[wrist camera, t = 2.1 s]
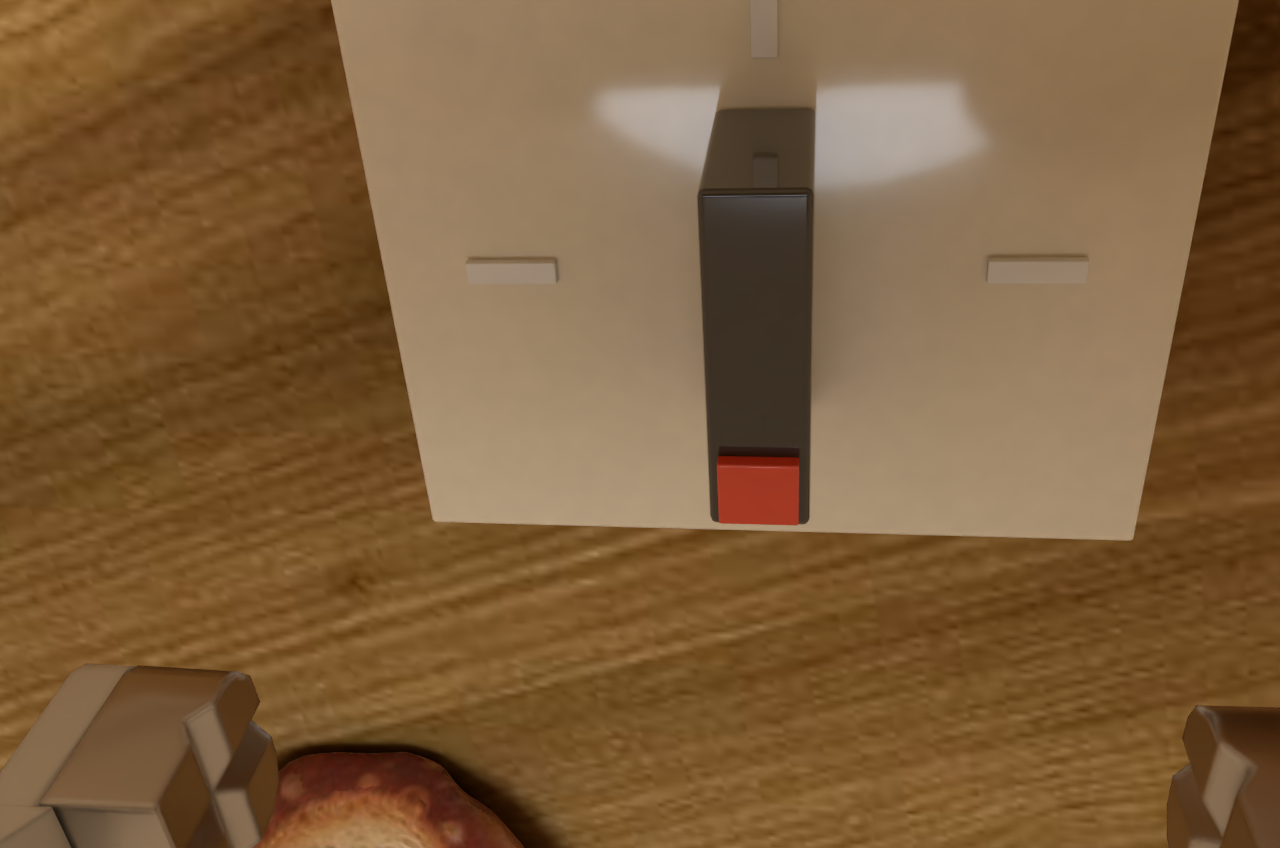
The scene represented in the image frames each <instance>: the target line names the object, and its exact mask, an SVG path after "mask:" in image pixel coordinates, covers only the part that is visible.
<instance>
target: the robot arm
mask: <svg viewBox="0 0 1280 848" xmlns="http://www.w3.org/2000/svg"><path fill="white" fill-rule="evenodd" d="M259 703H260V700H259V698H258V695H257V692H256V690H255V687H254V684H253V682H252V679H251V677H250V675H247V674H243V673H240V672H234V671H218V670H202V669H186V668H170V667H154V666H121V665H105V664H89V663H87V664H85V665H83V666H82V667H80V668H78V669H77V670H75V671H73V672H72V673H71V674H70V675H69V676H68V677H67V679H66V680H65V681H64V683H63V684H62V686H61V687H60V688H59V690H58V691H57V693H56V694H55V696H54V697H53V698H52V700H51V701H50V703H49V704H48V705H47V707H46V708H45V710H44V711H43V712H42V714H41V715H40V717H39V718H38V720H37V721H36V722H35V724H34V725H33V727H32V728H31V729H30V731H29V732H28V734H27V735H26V736H25V738H24V739H23V741H22V742H21V743H20V745H19V746H18V748H17V749H16V751H15V752H14V753H13V755H12V756H11V758H10V759H9V760H8V762H7V763H6V765H5V766H4V767H3V769H2V770H1V772H0V848H252V847H254V846H255V845H256V844H257V843H259V842H260V841H261V840H262V838H263V836H264V834H265V831H266V829H267V826H268V824H269V822H270V819H271V817H272V815H273V812H274V806H275V800H276V795H277V789H278V783H279V773H278V759H277V754H276V750H275V747H274V744H273V740H272V737H271V736H270V735H269V734H267V733H266V732H265V731H264V730H263V729H262V728H260V727H259V726H258V725H257V724H256V723H254V722H253V721H252V720H251V719H252V717H253V715H254V713H255V711H256V709H257V707H258V705H259ZM1182 739H1183V742H1184V745H1185V748H1186V751H1187V755H1188V758H1189V761H1190V763H1189V764H1188V765H1187V766H1185V767H1184V768H1183V769H1181V770H1180V771H1179V772H1177V773H1176V774H1175V775H1173V777H1172V782H1171V787H1170V791H1169V796H1168V801H1167V841H1168V847H1169V848H1280V708H1274V707H1236V706H1198V705H1196V706H1195V708H1194V709H1193V711H1192V712H1191V713H1190V715H1189V716H1188V719H1187V722H1186V726H1185V730H1184V733H1183V737H1182Z"/></svg>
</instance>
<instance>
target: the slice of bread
mask: <svg viewBox="0 0 1280 848" xmlns="http://www.w3.org/2000/svg"><path fill="white" fill-rule="evenodd" d="M278 773H279V783H278V789H277V795H276V800H275V806H274V812H273V815H272V817H271V819H270V822H269V824H268V826H267V829H266V831H265V834H264V836H263V838H262V840H261V841H260V842H259V843H257V844H256V845H255V846H254V847H252V848H525V847H524V846H523V845H522V844H521V842H520V841H519V840H518V839H517V838H516V836H515V835H514V834H513V833H512V832H511V831H510V829H509V828H508V827H507V826H506V825H505V824H504V823H503V822H502V820H501V819H500V818H499V817H498V816H497V815H496V814H495V813H494V812H493V811H491V810H490V809H489V808H488V807H487V806H485V805H484V804H482V803H481V802H479V801H477V800H476V799H474V798H473V797H471V796H469V795H468V794H467V793H465V792H464V791H463V790H462V789H461V788H460V787H459V786H458V785H457V784H456V782H455V781H454V780H453V779H452V777H451V776H450V775H449V773H448V772H447V771H446V770H445V769H444V768H443V767H442V766H441V765H440V764H438V763H436V762H434V761H432V760H430V759H427V758H424V757H422V756H419V755H415V754H412V753H408V752H392V753H351V752H332V753H318V754H310V755H304V756H302V757H300V758H298V759H295V760H293V761H291V762H288V763H287V764H285V765H284V766H283V767H282V768H281V769H280V770H279V771H278Z"/></svg>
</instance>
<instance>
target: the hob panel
mask: <svg viewBox="0 0 1280 848" xmlns="http://www.w3.org/2000/svg"><path fill="white" fill-rule="evenodd" d="M331 3H332V8H333V13H334V19H335V24H336V29H337V34H338V39H339V44H340V49H341V54H342V59H343V64H344V69H345V75H346V80H347V85H348V90H349V95H350V100H351V105H352V110H353V115H354V120H355V126H356V131H357V136H358V141H359V146H360V151H361V156H362V161H363V166H364V171H365V177H366V182H367V187H368V192H369V197H370V202H371V207H372V212H373V217H374V222H375V228H376V233H377V238H378V243H379V248H380V253H381V258H382V263H383V268H384V273H385V279H386V284H387V289H388V294H389V299H390V304H391V309H392V314H393V319H394V324H395V330H396V335H397V340H398V345H399V350H400V355H401V360H402V365H403V370H404V375H405V380H406V386H407V391H408V396H409V401H410V406H411V411H412V416H413V421H414V426H415V431H416V437H417V442H418V447H419V452H420V457H421V462H422V467H423V472H424V477H425V482H426V488H427V493H428V498H429V503H430V508H431V513H432V518H433V521H435V522H460V523H497V524H534V525H571V526H608V527H645V528H682V529H719V530H756V531H793V532H830V533H867V534H904V535H941V536H978V537H1015V538H1052V539H1089V540H1126V541H1130V540H1132V539H1133V537H1134V533H1135V528H1136V523H1137V518H1138V513H1139V508H1140V502H1141V497H1142V492H1143V487H1144V482H1145V477H1146V472H1147V467H1148V462H1149V457H1150V452H1151V446H1152V441H1153V436H1154V431H1155V426H1156V421H1157V416H1158V411H1159V406H1160V401H1161V396H1162V390H1163V385H1164V380H1165V375H1166V370H1167V365H1168V360H1169V355H1170V350H1171V345H1172V340H1173V335H1174V329H1175V324H1176V319H1177V314H1178V309H1179V304H1180V299H1181V294H1182V289H1183V284H1184V279H1185V273H1186V268H1187V263H1188V258H1189V253H1190V248H1191V243H1192V238H1193V233H1194V228H1195V223H1196V217H1197V212H1198V207H1199V202H1200V197H1201V192H1202V187H1203V182H1204V177H1205V172H1206V167H1207V161H1208V156H1209V151H1210V146H1211V141H1212V136H1213V131H1214V126H1215V121H1216V116H1217V111H1218V106H1219V100H1220V95H1221V90H1222V85H1223V80H1224V75H1225V70H1226V65H1227V60H1228V55H1229V50H1230V44H1231V39H1232V34H1233V29H1234V24H1235V19H1236V14H1237V9H1238V4H1239V0H331ZM790 108H810V109H813V110H814V111H815V114H816V150H815V220H814V290H813V360H812V427H811V487H810V519H809V520H808V522H807V523H806V524H798V525H760V524H722V523H719V522H715V521H713V520H712V518H711V516H710V504H709V480H708V456H707V432H706V408H705V384H704V360H703V336H702V312H701V287H700V263H699V239H698V215H697V192H698V188H699V183H700V179H701V174H702V170H703V165H704V161H705V156H706V152H707V147H708V143H709V138H710V134H711V129H712V125H713V120H714V116H715V114H716V112H717V111H720V110H743V109H790Z"/></svg>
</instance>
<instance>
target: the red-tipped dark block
mask: <svg viewBox="0 0 1280 848" xmlns="http://www.w3.org/2000/svg"><path fill="white" fill-rule="evenodd" d="M815 150H816V114H815V111H814V110H813V109H810V108H790V109H743V110H720V111H717V112H716V114H715V116H714V120H713V125H712V129H711V134H710V138H709V143H708V147H707V152H706V156H705V161H704V165H703V170H702V174H701V179H700V183H699V188H698V192H697V215H698V239H699V263H700V287H701V312H702V336H703V360H704V384H705V408H706V432H707V456H708V480H709V504H710V516H711V518H712V520H713V521H715V522H719V523H722V524H760V525H798V524H806V523H807V522H808V520H809V519H810V487H811V427H812V360H813V290H814V220H815Z"/></svg>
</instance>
